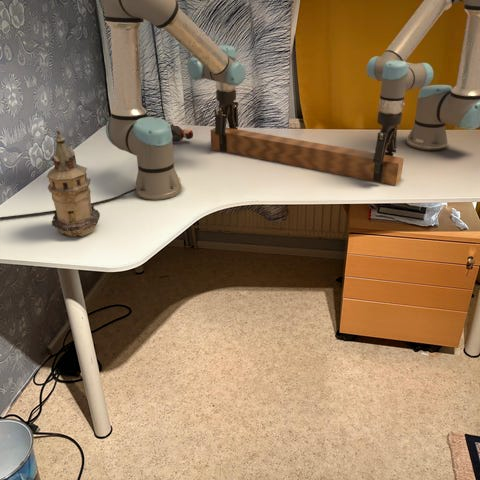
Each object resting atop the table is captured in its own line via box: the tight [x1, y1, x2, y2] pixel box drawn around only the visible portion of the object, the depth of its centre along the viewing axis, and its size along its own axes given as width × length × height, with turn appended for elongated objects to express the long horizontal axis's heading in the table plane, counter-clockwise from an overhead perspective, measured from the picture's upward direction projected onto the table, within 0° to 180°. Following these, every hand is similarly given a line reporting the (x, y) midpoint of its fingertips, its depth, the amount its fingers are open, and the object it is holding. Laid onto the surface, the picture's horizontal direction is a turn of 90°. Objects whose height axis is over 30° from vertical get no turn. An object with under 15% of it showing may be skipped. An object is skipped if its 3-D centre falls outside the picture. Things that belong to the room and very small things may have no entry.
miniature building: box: [46, 129, 101, 237], centre depth 148 cm, size 13×14×30 cm
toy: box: [169, 123, 194, 144], centre depth 221 cm, size 26×6×30 cm
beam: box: [210, 126, 405, 186], centre depth 196 cm, size 74×6×8 cm, turn 59°
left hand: (227, 148), depth 212 cm, fingers closed on beam, 6 cm apart
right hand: (382, 175), depth 184 cm, fingers open, 10 cm apart
